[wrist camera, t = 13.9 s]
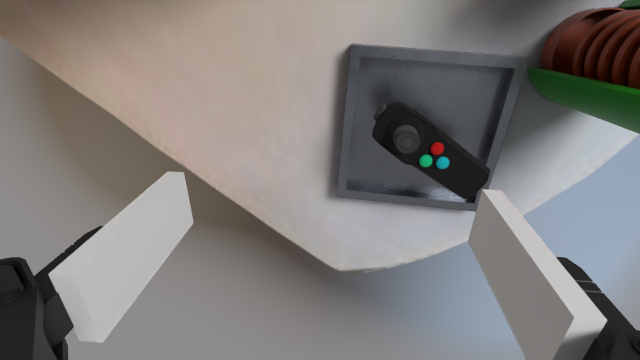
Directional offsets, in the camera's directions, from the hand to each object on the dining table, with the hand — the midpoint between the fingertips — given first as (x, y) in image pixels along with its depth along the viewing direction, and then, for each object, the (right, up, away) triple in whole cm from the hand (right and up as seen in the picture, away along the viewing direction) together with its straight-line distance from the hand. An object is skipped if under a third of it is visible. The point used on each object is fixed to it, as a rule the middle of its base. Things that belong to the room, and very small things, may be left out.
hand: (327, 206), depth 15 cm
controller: (+11, +7, +22) cm, 26 cm away
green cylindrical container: (+26, +14, +18) cm, 35 cm away
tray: (+11, +7, +23) cm, 27 cm away
